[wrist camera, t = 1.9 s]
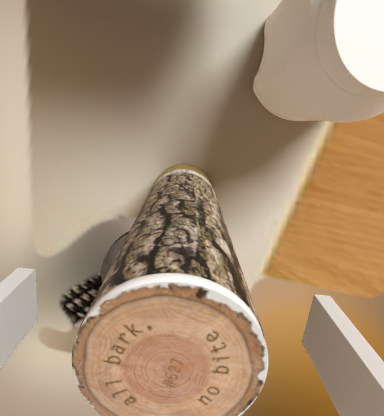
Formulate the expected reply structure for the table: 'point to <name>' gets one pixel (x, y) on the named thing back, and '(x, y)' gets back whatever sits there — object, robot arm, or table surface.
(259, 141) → the table surface
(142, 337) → the paper tube
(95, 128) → the table surface
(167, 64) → the table surface
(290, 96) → the jar
